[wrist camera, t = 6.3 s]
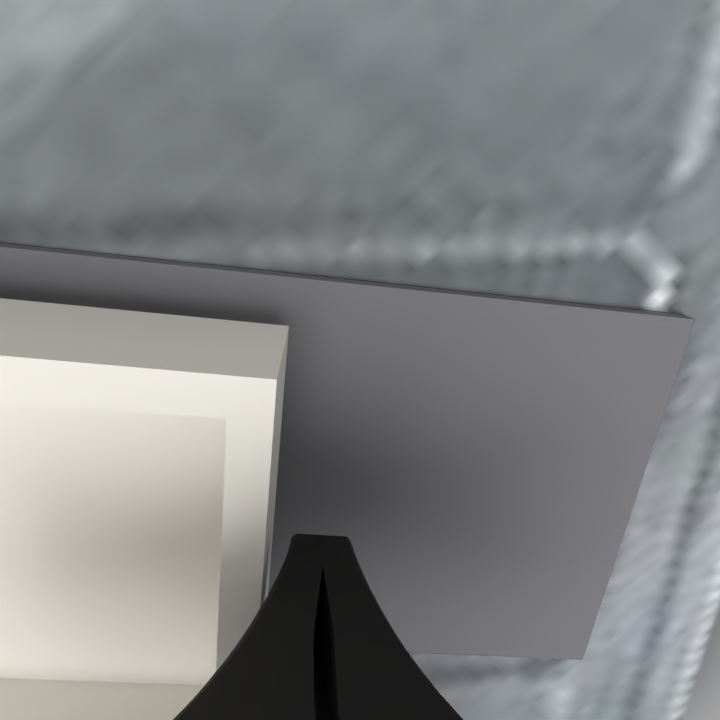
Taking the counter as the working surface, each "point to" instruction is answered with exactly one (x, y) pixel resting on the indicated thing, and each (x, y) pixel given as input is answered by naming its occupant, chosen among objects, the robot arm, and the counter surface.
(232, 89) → the counter surface
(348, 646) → the robot arm
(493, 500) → the flat gray panel
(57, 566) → the white square tray
